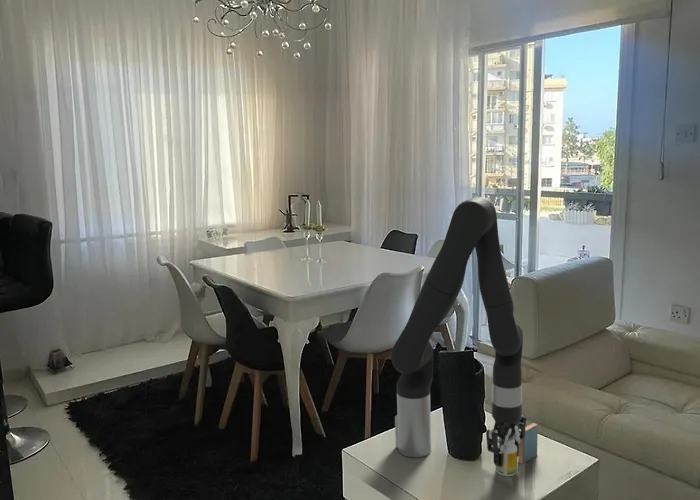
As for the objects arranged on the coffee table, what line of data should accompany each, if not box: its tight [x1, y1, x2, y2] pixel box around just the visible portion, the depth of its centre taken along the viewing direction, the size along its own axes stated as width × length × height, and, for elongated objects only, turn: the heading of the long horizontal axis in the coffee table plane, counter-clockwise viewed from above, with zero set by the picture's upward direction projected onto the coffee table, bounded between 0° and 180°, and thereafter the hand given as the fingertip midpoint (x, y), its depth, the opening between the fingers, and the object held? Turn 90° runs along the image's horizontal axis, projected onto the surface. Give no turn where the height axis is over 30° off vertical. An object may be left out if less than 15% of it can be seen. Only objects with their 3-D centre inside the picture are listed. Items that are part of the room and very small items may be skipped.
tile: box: [517, 422, 539, 465], centre depth 155 cm, size 2×6×9 cm, turn 128°
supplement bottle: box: [495, 436, 518, 477], centre depth 150 cm, size 5×5×10 cm
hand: (506, 460), depth 150 cm, fingers open, 6 cm apart
